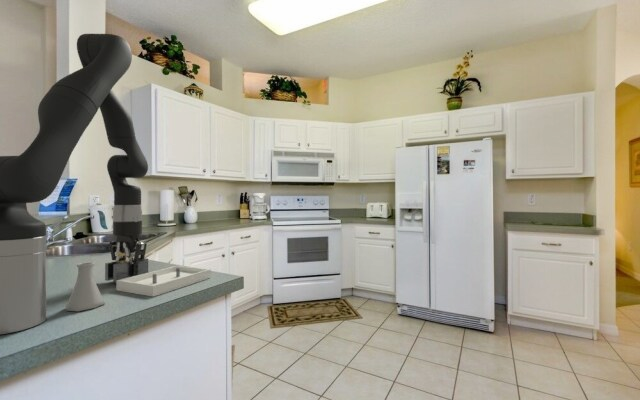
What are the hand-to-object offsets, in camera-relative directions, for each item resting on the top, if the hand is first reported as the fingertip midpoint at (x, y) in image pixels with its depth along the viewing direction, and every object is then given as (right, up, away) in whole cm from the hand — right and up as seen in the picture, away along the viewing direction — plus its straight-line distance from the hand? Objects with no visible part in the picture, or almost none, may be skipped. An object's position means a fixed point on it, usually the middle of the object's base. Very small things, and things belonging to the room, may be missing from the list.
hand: (127, 275), depth 92 cm
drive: (0, -1, 0) cm, 1 cm away
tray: (+14, -2, -3) cm, 14 cm away
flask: (+5, -2, -22) cm, 23 cm away
